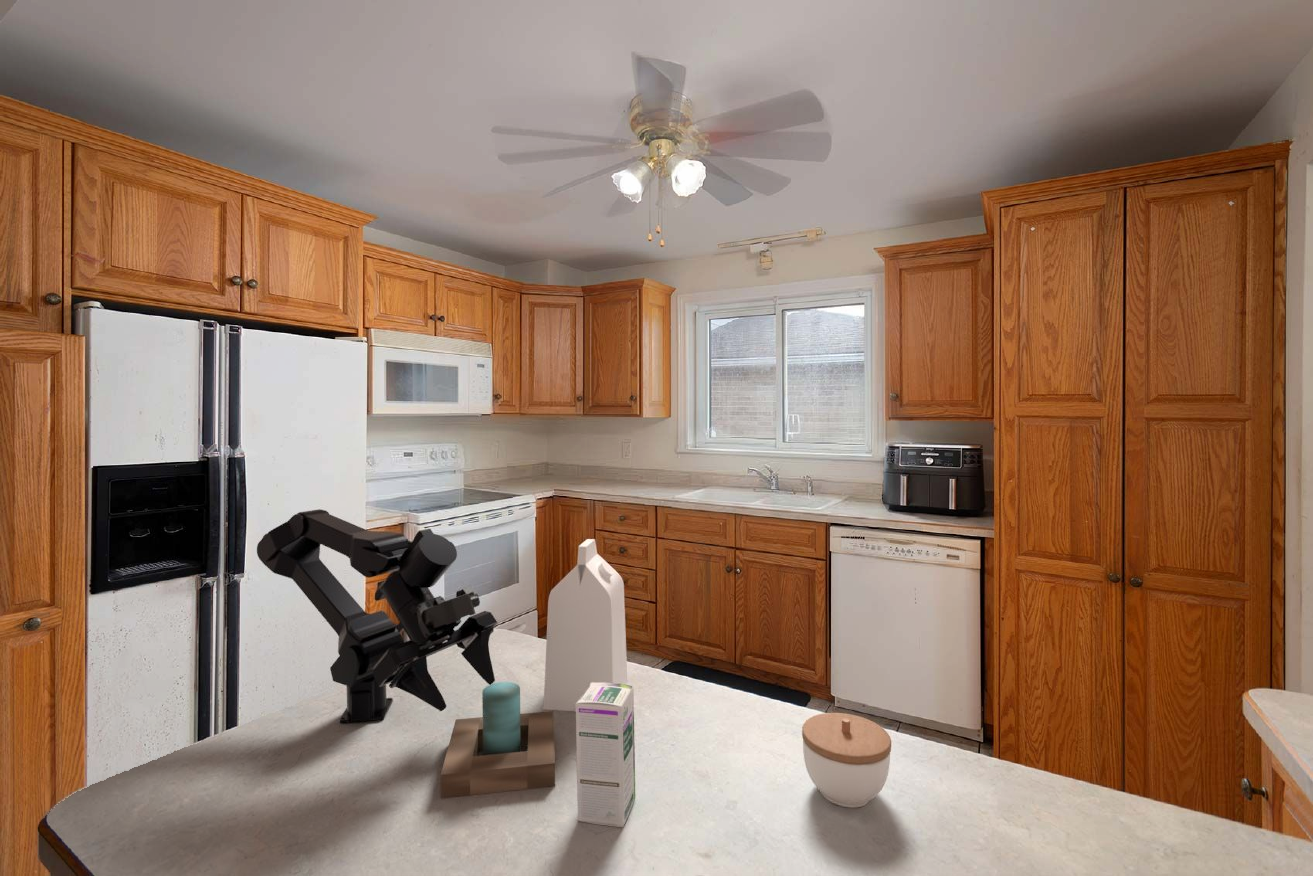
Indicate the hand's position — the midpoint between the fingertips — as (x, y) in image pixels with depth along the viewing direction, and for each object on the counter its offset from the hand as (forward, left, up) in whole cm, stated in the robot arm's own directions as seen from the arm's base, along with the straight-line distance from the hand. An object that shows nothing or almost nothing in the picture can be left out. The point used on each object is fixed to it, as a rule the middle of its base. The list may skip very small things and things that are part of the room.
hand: (469, 695), depth 88 cm
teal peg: (+4, +5, -8) cm, 10 cm away
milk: (-14, +18, -8) cm, 24 cm away
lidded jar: (+19, +48, -8) cm, 52 cm away
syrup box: (+17, +18, -8) cm, 26 cm away
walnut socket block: (+4, +5, -8) cm, 10 cm away
